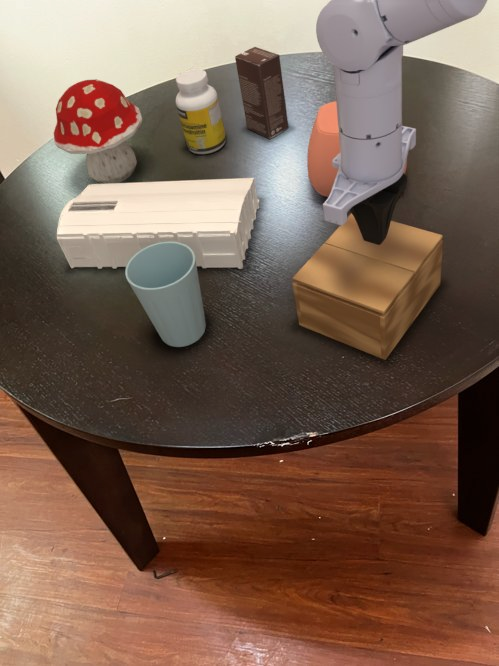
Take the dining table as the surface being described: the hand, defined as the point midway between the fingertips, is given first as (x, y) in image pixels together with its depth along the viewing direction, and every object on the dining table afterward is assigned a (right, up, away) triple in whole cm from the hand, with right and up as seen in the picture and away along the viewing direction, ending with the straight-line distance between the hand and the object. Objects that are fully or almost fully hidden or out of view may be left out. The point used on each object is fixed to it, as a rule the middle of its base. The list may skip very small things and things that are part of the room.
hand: (374, 239), depth 69 cm
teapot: (+2, +12, +23) cm, 25 cm away
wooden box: (+1, -7, +5) cm, 9 cm away
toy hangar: (-24, +4, +21) cm, 33 cm away
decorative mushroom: (-35, +15, +35) cm, 51 cm away
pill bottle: (-20, +20, +36) cm, 46 cm away
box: (-10, +23, +36) cm, 44 cm away
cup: (-21, -10, +8) cm, 25 cm away
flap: (+1, 0, +2) cm, 2 cm away
